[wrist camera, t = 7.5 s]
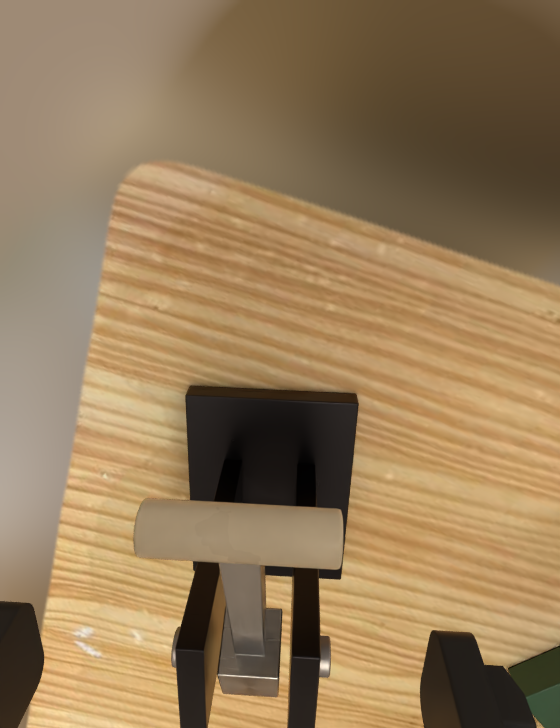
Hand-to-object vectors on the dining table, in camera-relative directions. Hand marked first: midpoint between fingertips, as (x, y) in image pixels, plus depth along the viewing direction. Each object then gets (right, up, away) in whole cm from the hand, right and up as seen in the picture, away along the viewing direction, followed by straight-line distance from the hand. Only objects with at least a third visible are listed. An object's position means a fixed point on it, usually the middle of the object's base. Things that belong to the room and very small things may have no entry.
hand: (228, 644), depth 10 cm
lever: (0, -1, +7) cm, 7 cm away
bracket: (+1, -1, +20) cm, 20 cm away
